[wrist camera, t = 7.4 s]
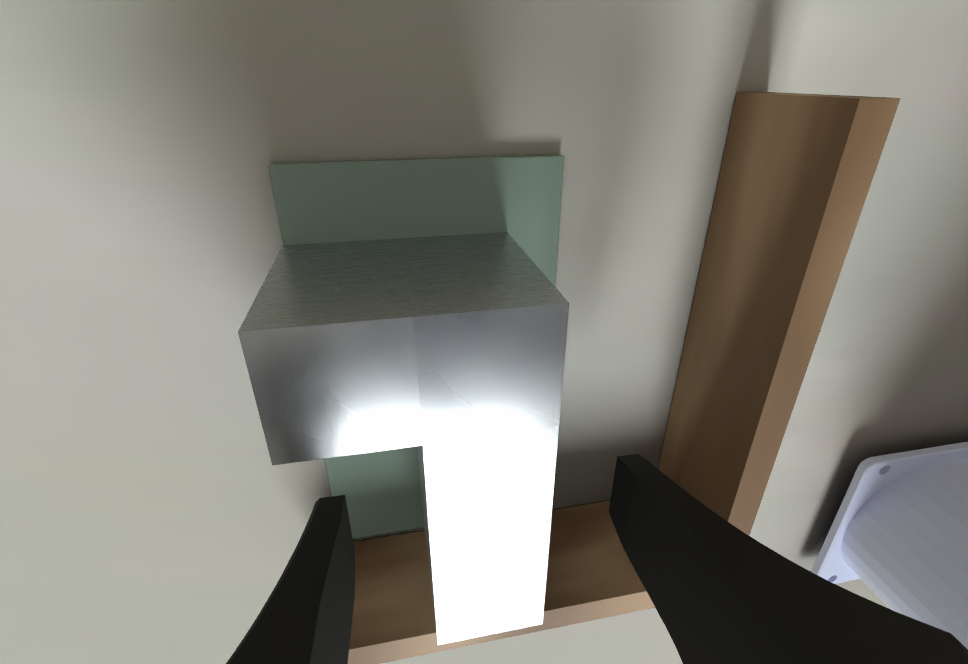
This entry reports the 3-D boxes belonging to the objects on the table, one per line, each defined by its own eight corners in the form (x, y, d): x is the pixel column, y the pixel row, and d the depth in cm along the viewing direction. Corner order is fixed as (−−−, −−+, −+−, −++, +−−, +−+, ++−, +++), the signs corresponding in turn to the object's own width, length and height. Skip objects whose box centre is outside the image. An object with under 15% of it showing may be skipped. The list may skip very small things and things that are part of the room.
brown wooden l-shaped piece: (768, 92, 14) (900, 98, 10) (670, 507, 21) (729, 592, 18) (234, 96, 12) (175, 106, 8) (332, 563, 19) (323, 674, 15)
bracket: (502, 495, 19) (542, 623, 14) (336, 520, 18) (324, 668, 13) (507, 231, 14) (569, 303, 10) (282, 245, 13) (237, 332, 9)
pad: (560, 155, 14) (564, 156, 13) (537, 503, 20) (539, 508, 19) (270, 164, 12) (268, 165, 12) (340, 533, 18) (339, 540, 18)
